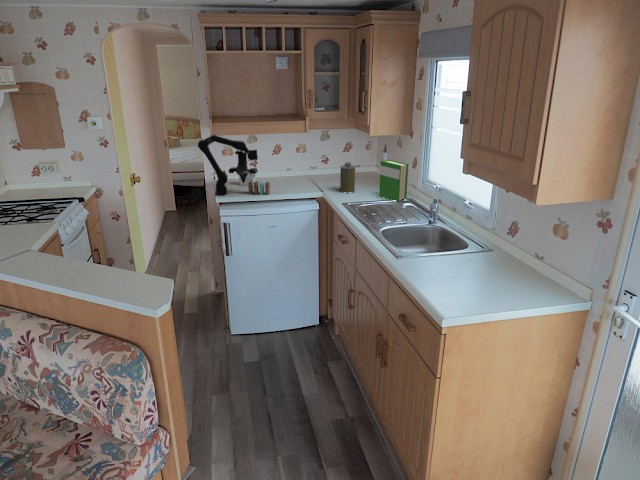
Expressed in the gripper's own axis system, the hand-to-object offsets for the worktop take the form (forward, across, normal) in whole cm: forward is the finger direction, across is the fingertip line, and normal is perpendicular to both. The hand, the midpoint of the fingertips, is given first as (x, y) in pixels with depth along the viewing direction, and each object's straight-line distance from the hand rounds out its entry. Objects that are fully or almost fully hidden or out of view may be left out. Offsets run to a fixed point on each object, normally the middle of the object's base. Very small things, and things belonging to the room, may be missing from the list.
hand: (243, 182), depth 316 cm
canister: (+7, +70, +14) cm, 72 cm away
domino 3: (+7, +17, 0) cm, 18 cm away
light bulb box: (+8, -5, +23) cm, 25 cm away
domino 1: (+7, +5, 0) cm, 9 cm away
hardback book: (+7, +102, +1) cm, 102 cm away
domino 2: (+7, +9, 0) cm, 11 cm away
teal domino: (+7, +13, 0) cm, 15 cm away
